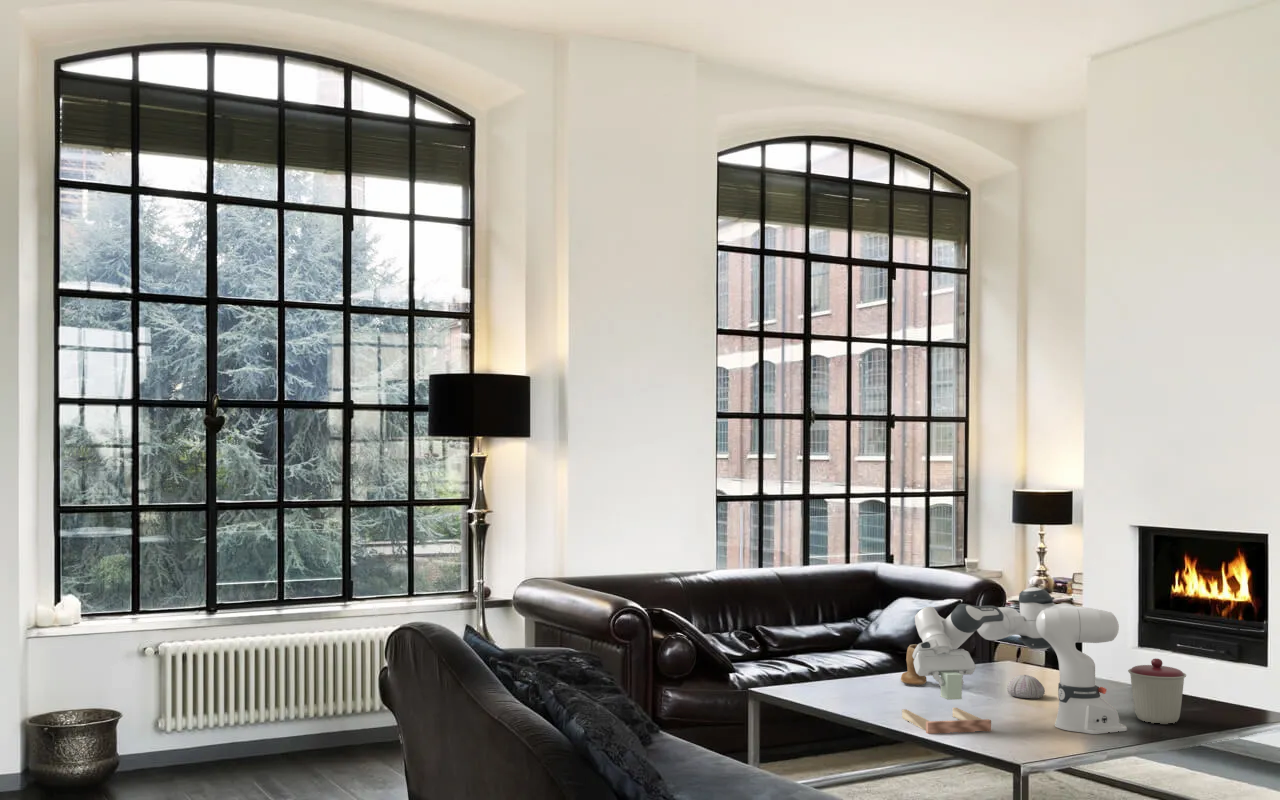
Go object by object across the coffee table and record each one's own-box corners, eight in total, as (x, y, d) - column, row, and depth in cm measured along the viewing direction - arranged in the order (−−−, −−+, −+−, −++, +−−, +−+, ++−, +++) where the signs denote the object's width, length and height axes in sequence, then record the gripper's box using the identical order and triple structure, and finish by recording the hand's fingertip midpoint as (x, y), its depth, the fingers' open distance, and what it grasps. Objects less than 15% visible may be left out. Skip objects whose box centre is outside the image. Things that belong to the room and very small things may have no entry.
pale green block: (954, 696, 387) (954, 671, 388) (961, 699, 383) (961, 674, 383) (940, 696, 386) (940, 672, 387) (947, 699, 382) (947, 674, 382)
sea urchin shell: (1005, 692, 446) (1005, 671, 446) (1042, 694, 443) (1042, 672, 443) (1008, 699, 433) (1008, 677, 433) (1047, 701, 430) (1047, 679, 430)
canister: (1120, 714, 408) (1120, 653, 409) (1174, 716, 407) (1173, 654, 408) (1139, 726, 390) (1139, 662, 391) (1195, 728, 389) (1195, 663, 390)
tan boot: (930, 688, 452) (930, 648, 453) (899, 686, 455) (899, 646, 456) (932, 681, 466) (932, 643, 467) (902, 679, 470) (902, 641, 471)
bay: (959, 716, 402) (959, 706, 402) (991, 731, 380) (991, 720, 381) (899, 718, 398) (899, 708, 398) (927, 733, 376) (927, 722, 376)
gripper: (964, 654, 398) (978, 689, 388) (907, 655, 394) (920, 691, 384) (970, 643, 394) (984, 678, 384) (913, 644, 390) (926, 679, 380)
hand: (951, 684), depth 384 cm, fingers closed on pale green block, 5 cm apart
